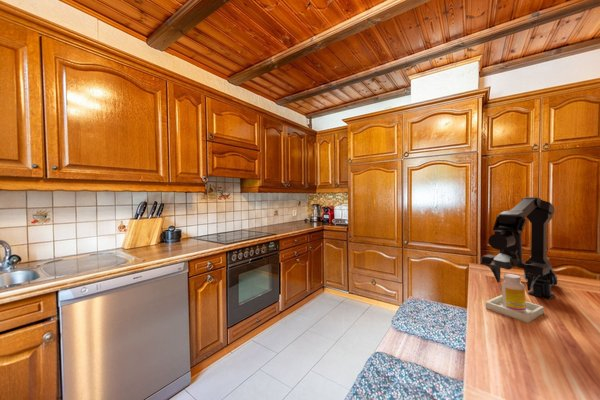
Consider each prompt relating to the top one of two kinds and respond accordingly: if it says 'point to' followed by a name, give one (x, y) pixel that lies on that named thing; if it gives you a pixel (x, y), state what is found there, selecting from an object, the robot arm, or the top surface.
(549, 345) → the top surface
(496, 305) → the tray
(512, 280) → the supplement bottle
